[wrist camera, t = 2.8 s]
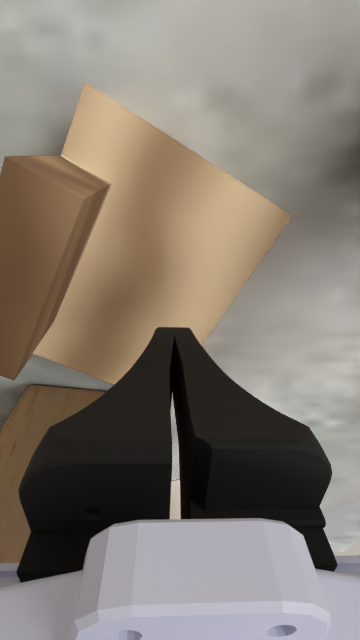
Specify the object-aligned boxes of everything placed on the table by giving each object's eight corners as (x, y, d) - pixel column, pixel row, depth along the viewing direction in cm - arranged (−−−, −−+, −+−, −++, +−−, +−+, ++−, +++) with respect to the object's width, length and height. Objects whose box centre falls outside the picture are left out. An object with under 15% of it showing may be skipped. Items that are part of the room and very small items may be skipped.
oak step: (265, 202, 18) (292, 215, 14) (162, 361, 23) (161, 402, 19) (105, 99, 15) (85, 81, 11) (30, 306, 20) (-1, 340, 17)
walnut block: (111, 183, 13) (83, 199, 9) (55, 318, 16) (14, 380, 12) (62, 155, 12) (4, 156, 8) (13, 301, 16) (-47, 358, 11)
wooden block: (35, 464, 28) (-181, 975, 11) (26, 381, 24) (-386, 1049, 6) (143, 471, 29) (107, 947, 12) (155, 393, 25) (125, 991, 7)
